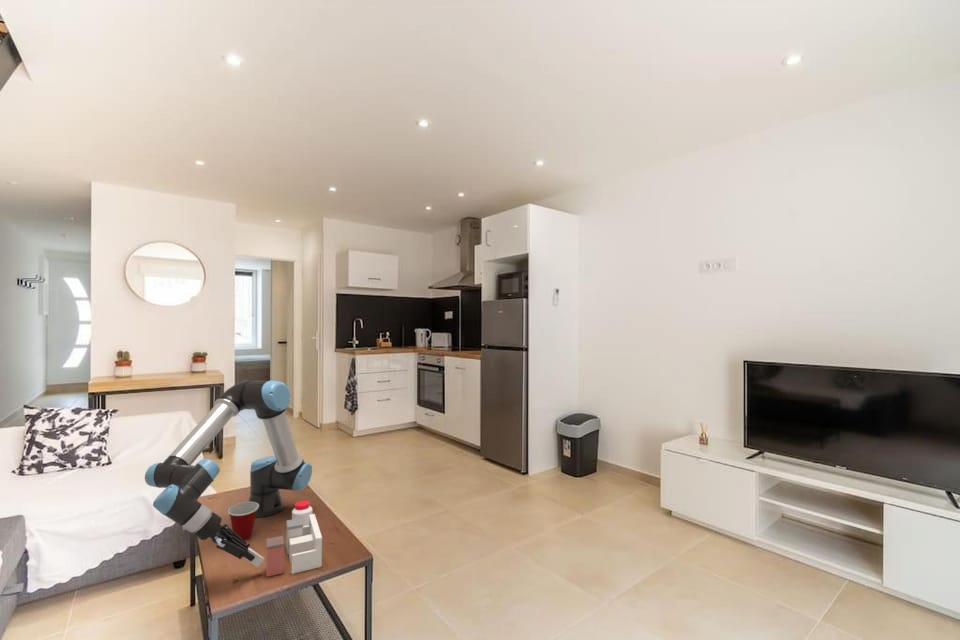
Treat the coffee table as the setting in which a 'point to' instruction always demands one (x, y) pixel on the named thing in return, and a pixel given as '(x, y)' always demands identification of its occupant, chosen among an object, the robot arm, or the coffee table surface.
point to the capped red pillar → (274, 555)
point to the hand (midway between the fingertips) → (261, 562)
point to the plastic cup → (243, 518)
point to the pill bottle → (302, 511)
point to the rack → (306, 548)
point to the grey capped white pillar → (294, 530)
